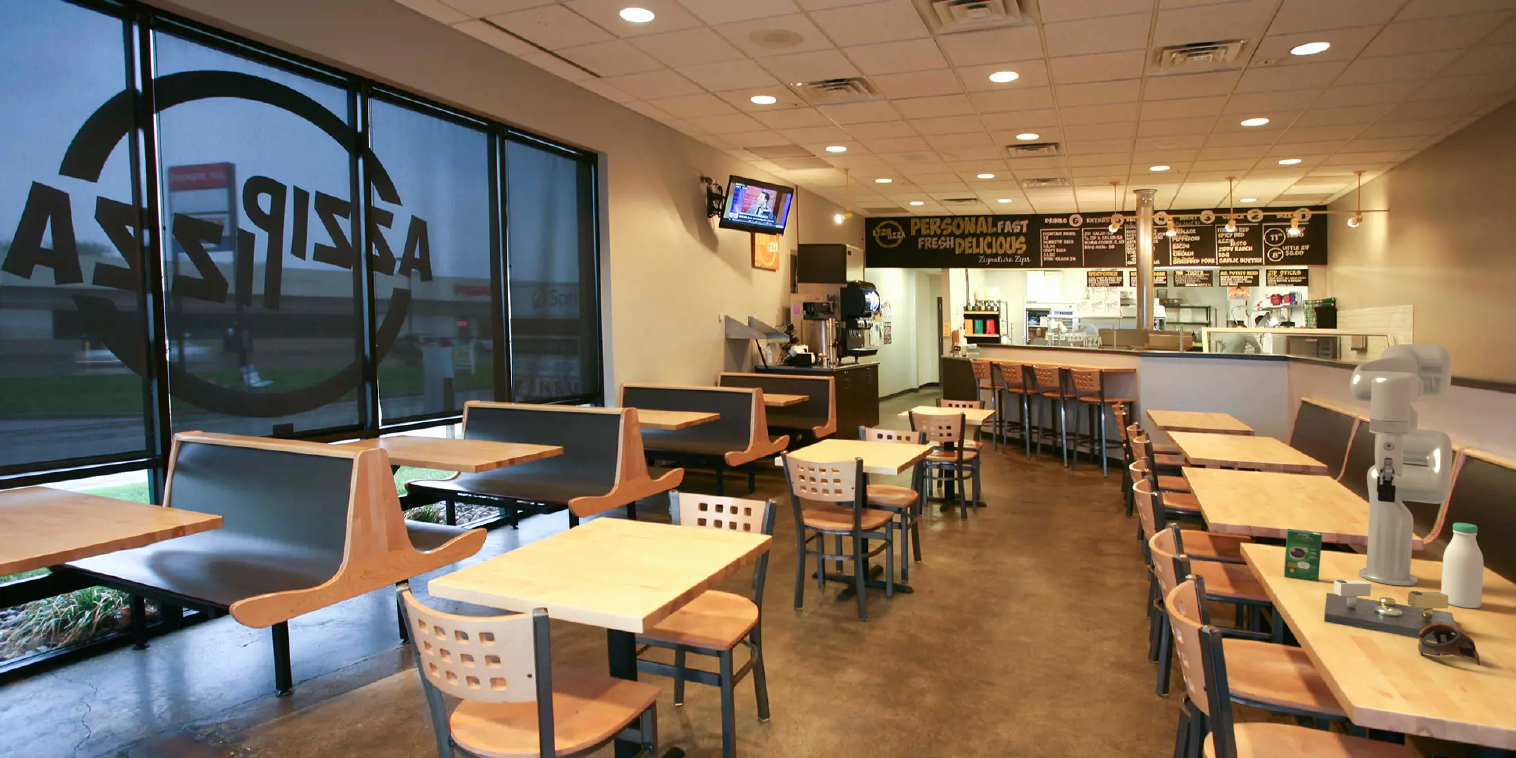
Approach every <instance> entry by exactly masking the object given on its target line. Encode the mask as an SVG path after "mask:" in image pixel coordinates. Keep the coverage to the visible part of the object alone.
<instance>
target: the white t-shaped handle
mask: <svg viewBox="0 0 1516 758" xmlns="http://www.w3.org/2000/svg"><path fill="white" fill-rule="evenodd" d="M1371 592H1372V583H1371V582H1369V581H1365V580H1345V579H1344V580H1343V579H1337V580H1333V594H1337V595H1339V596H1347V606H1351V607H1356V597H1371Z"/></svg>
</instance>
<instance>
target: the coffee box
mask: <svg viewBox="0 0 1516 758" xmlns="http://www.w3.org/2000/svg"><path fill="white" fill-rule="evenodd" d="M1285 541H1286V542H1285V543H1286V544H1285V555H1284V570H1283V574H1284V575H1283V576H1284V577H1285V578H1286V577H1287V578H1291V579H1299V580H1306V581H1313V582H1319V580H1320V576H1319V575H1320V563H1321V562H1320V561H1321V553H1322V541H1323V535H1322V532H1316V531H1308V530H1299V529H1292V528H1287V529H1286V540H1285Z"/></svg>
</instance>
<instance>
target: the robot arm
mask: <svg viewBox="0 0 1516 758" xmlns="http://www.w3.org/2000/svg"><path fill="white" fill-rule="evenodd" d="M1451 382H1452V358H1451V355H1450V353H1449V351H1448V350H1447V348H1446V347H1444V346H1442V345H1440V344H1419V343H1418V344H1415V343H1412V344H1407V343H1401V344H1394V345H1390V346H1388V347H1386V348H1385V349H1384V350H1383V351H1382V353H1381V355H1380V357H1379V358H1378V359H1375V360H1370V361H1367V362H1363V363H1360V364H1359V365H1357V366H1356V367H1355V368H1354V370H1353V372H1352V375H1351V377H1350V381H1349V391H1350V395H1351V397H1352V398H1354V400H1357V401H1360V402H1361V401H1362V402H1370V408H1369V409H1370V410H1369V429H1368V432H1369V433H1371V434H1375V437H1374V465H1372V466H1370V468H1368V471H1367V474H1366V480H1367V481H1366V483H1367V490H1368V491H1367V492H1368V499H1369V503H1368V504H1369V506H1368V507H1369V509H1368V511H1369V512H1368V530H1367V531H1368V532H1367V546H1366V547H1367V548H1366V549H1367V551H1366V566H1365V568H1361V569H1359V572H1358V575H1359V576H1360V577H1362V578H1363V579H1366V580H1368V581H1372V582H1375V583H1381V584H1386V585H1392V586H1402V587H1403V586H1404V587H1407V586H1409V587H1410V586H1416V585H1417V584H1418V578H1417V577H1416V576H1414V575H1412V574H1411V570H1412V568H1411V566H1412V551H1413V549H1412V548H1413V532H1414V516H1413V514H1412V512H1411V511H1410V509H1408V507H1407V506H1406V505H1405V504H1404V503H1403V502H1404V501H1405V502H1414V503H1415V502H1416V503H1424V504H1435V505H1437V504H1438V505H1439V504H1444V503H1445V502H1447V501H1448V500H1449V497H1450V494H1451V486H1452V466H1453V465H1452V463H1453V462H1452V461H1453V444H1452V440H1451V437H1450V436H1449V434H1448V433H1446V432H1444V431H1442V430H1435V429H1426V428H1425V429H1424V428H1423V429H1422V428H1418V421H1419V414H1418V412H1417V410H1416V409H1415V408H1414V407H1413V406H1412V405H1411V404H1412V403H1414V402H1416V401H1418V400H1419V399H1420V398H1421V397H1422V396H1425V397H1439V396H1441V397H1442V396H1444V395H1446V394H1447V393H1448V392H1449V390H1450V388H1451V384H1452V383H1451ZM1410 464H1412V465H1410ZM1413 464H1414V465H1413ZM1420 465H1421V466H1420ZM1423 465H1424V466H1423Z"/></svg>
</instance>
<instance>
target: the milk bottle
mask: <svg viewBox="0 0 1516 758" xmlns="http://www.w3.org/2000/svg"><path fill="white" fill-rule="evenodd" d="M1452 532H1453V536H1452V539H1451V540H1450V542H1449V544H1447V546H1446V547H1445V550H1444V552H1443V556H1442V565H1441V568H1442V569H1441V580H1440V592H1441V593H1443V594H1446V595H1448V605H1450V606H1455V607H1459V608H1463V609H1464V608H1465V609H1479V608H1480V607H1481V606H1482V599H1483V596H1482V595H1483V585H1484V584H1483V581H1484V580H1483V579H1484V556H1483V553H1482V551H1481V549H1480V547H1479V545H1478V542H1477V539H1476V537H1477V536H1478V533H1477V532H1478V526H1477V525H1476V524H1472V523H1467V522H1454V523H1453V525H1452Z"/></svg>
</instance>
